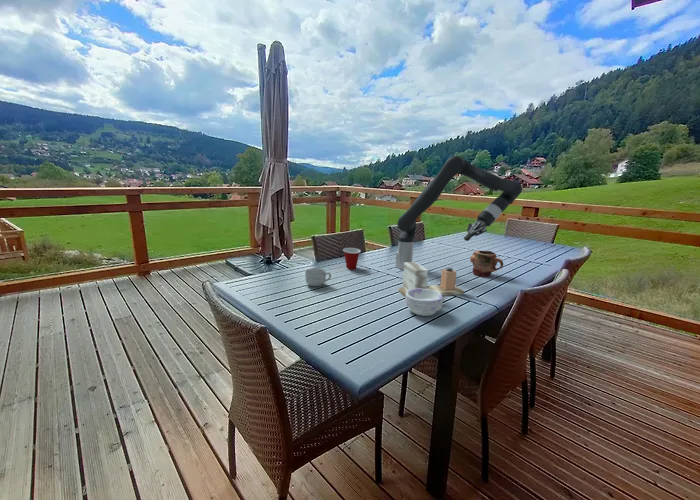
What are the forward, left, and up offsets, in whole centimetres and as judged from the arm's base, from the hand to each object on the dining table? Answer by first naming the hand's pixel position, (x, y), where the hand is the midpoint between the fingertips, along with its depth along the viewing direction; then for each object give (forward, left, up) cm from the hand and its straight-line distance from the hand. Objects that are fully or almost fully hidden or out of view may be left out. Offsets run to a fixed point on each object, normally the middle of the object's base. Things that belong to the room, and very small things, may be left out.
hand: (465, 239), depth 150 cm
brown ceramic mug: (+2, +28, -25) cm, 38 cm away
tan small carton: (-2, -11, -23) cm, 26 cm away
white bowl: (+3, -41, -25) cm, 48 cm away
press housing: (-6, -19, -25) cm, 32 cm away
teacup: (-52, -53, -25) cm, 79 cm away
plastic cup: (-61, -19, -25) cm, 69 cm away
